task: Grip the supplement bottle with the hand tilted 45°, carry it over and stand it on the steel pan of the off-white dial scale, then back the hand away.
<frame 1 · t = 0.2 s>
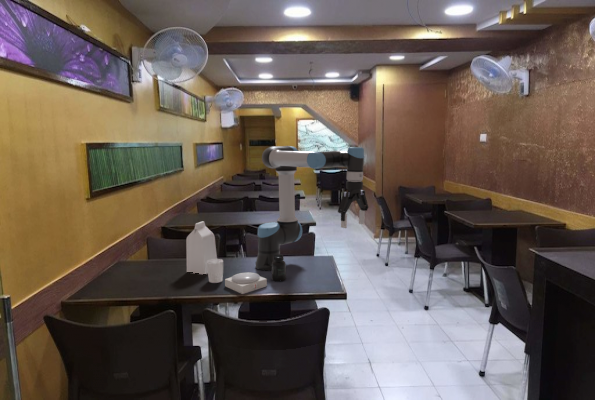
hand: (352, 225, 191), 27 cm above the table, tool pointing down, fingers open, 13 cm apart
white cup: (215, 281, 201), on the table
supplement bottle: (279, 279, 201), on the table
dial scale: (246, 286, 192), on the table
milk: (202, 270, 218), on the table
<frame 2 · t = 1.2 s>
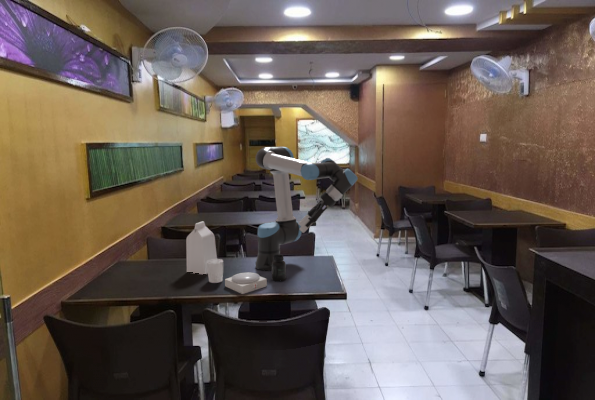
hand: (300, 228, 197), 26 cm above the table, tool tilted 45°, fingers open, 13 cm apart
nothing on the table moved.
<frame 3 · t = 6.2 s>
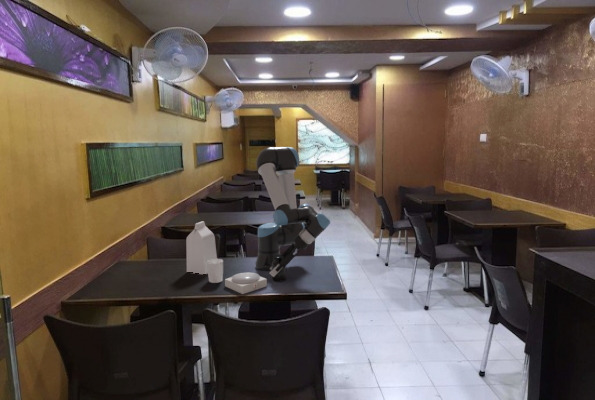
hand: (271, 272, 200), 4 cm above the table, tool tilted 45°, fingers closed on supplement bottle, 7 cm apart
supplement bottle: (279, 279, 201), on the table, touching gripper
everything else where it was.
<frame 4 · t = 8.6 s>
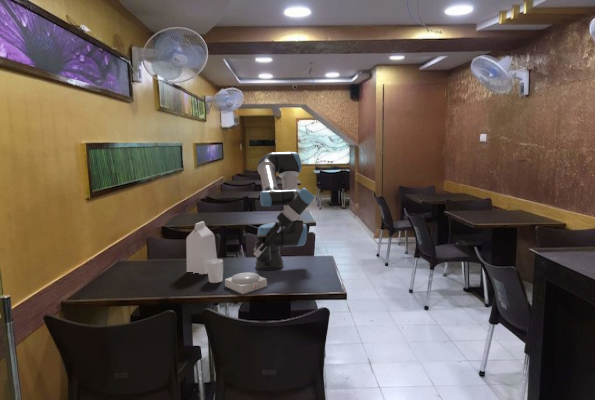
hand: (255, 253, 191), 16 cm above the table, tool tilted 45°, fingers closed on supplement bottle, 7 cm apart
supplement bottle: (263, 260, 192), point 12 cm above the table, touching gripper
everything else where it was.
when the fingers open (10 cm above the table, at t = 11.0 s): supplement bottle stays where it is, point 6 cm above the table.
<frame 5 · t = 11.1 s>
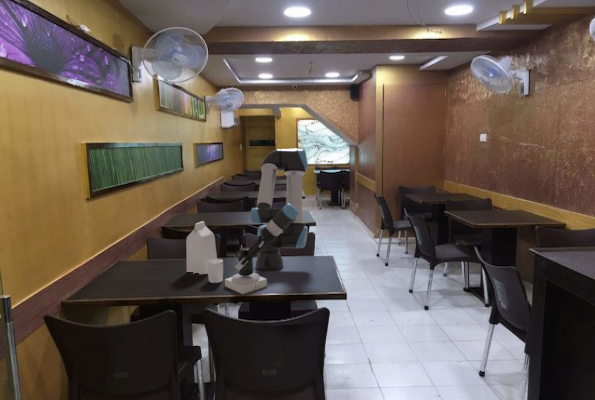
hand: (237, 266, 191), 10 cm above the table, tool tilted 45°, fingers open, 7 cm apart
supplement bottle: (245, 274, 191), point 6 cm above the table
everything else where it was.
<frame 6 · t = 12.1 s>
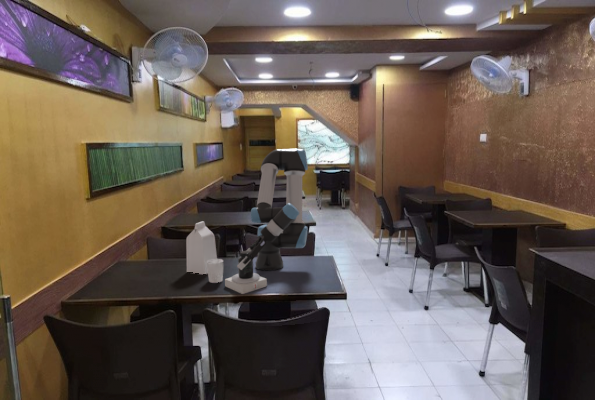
hand: (240, 263, 190), 11 cm above the table, tool tilted 45°, fingers open, 13 cm apart
supplement bottle: (246, 277, 191), point 4 cm above the table, touching dial scale
everything else where it was.
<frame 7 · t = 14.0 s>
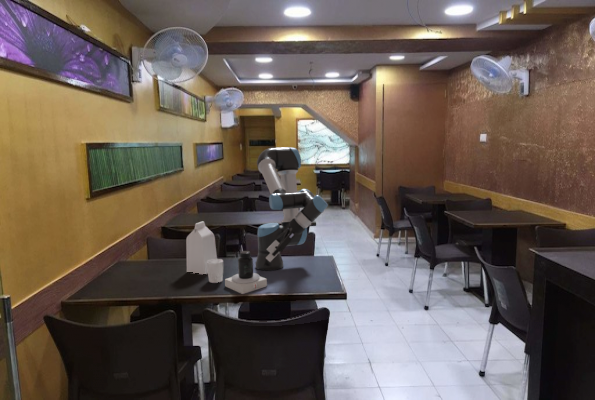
hand: (268, 255, 190), 15 cm above the table, tool tilted 45°, fingers open, 13 cm apart
nothing on the table moved.
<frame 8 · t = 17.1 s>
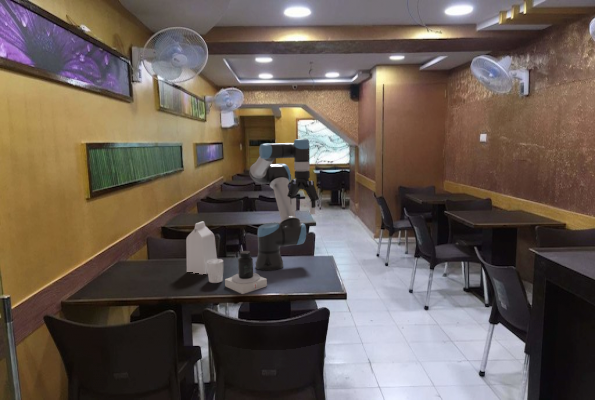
hand: (302, 212, 205), 32 cm above the table, tool pointing down, fingers open, 13 cm apart
nothing on the table moved.
at the end: supplement bottle inside the target area on the dial scale (0.1 cm from its centre), point 4.4 cm above the dial scale's base; supplement bottle tilted 0°; the gripper is holding nothing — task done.
